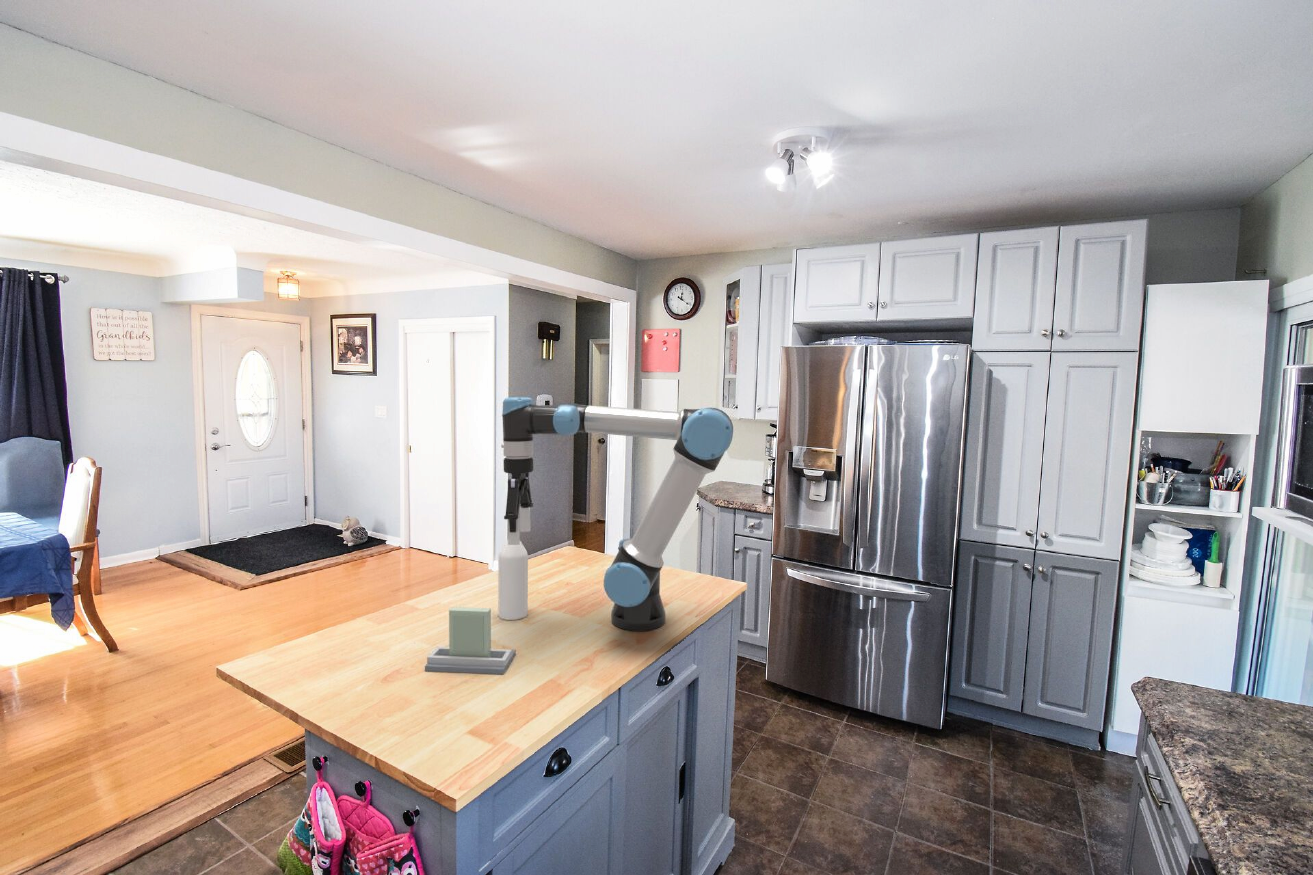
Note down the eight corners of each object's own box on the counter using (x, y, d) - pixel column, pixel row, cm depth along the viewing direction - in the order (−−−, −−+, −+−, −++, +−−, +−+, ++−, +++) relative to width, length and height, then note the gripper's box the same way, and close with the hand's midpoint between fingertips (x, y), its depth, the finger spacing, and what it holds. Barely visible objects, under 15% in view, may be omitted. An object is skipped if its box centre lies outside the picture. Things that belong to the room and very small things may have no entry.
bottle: (506, 622, 164) (506, 514, 162) (493, 613, 170) (493, 509, 168) (532, 615, 169) (533, 511, 167) (519, 607, 175) (519, 506, 173)
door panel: (490, 657, 140) (490, 608, 139) (487, 662, 138) (487, 612, 137) (452, 656, 141) (452, 606, 140) (448, 661, 138) (448, 610, 137)
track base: (515, 654, 145) (515, 643, 145) (503, 674, 135) (503, 662, 135) (442, 651, 146) (442, 640, 145) (424, 670, 136) (424, 659, 136)
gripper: (514, 451, 167) (516, 526, 169) (491, 463, 142) (493, 550, 144) (541, 451, 167) (542, 526, 169) (522, 463, 143) (524, 550, 144)
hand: (519, 537), depth 157 cm, fingers open, 13 cm apart
